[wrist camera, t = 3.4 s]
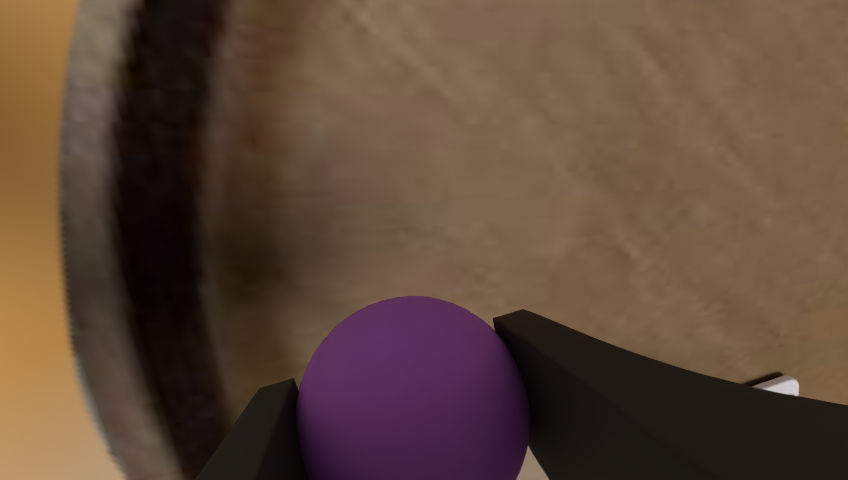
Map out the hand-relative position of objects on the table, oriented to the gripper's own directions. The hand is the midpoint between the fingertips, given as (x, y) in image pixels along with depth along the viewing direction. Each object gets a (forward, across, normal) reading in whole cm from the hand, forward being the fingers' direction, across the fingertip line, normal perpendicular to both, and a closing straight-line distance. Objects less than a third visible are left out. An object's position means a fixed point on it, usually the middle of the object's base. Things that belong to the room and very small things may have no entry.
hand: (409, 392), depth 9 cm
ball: (-1, 0, 0) cm, 1 cm away
